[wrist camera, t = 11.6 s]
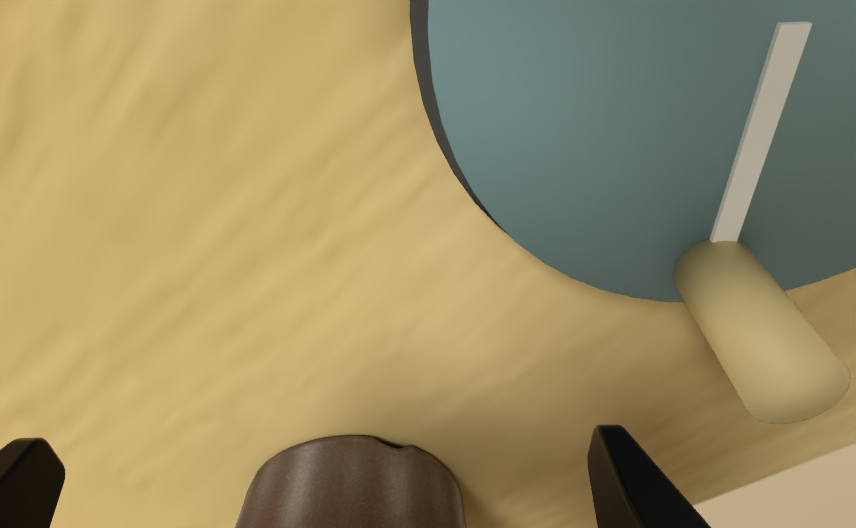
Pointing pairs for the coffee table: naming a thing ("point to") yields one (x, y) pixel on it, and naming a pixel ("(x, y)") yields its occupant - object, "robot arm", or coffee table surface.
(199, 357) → the coffee table surface
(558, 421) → the coffee table surface
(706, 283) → the handwheel
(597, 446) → the robot arm
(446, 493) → the plant pot
